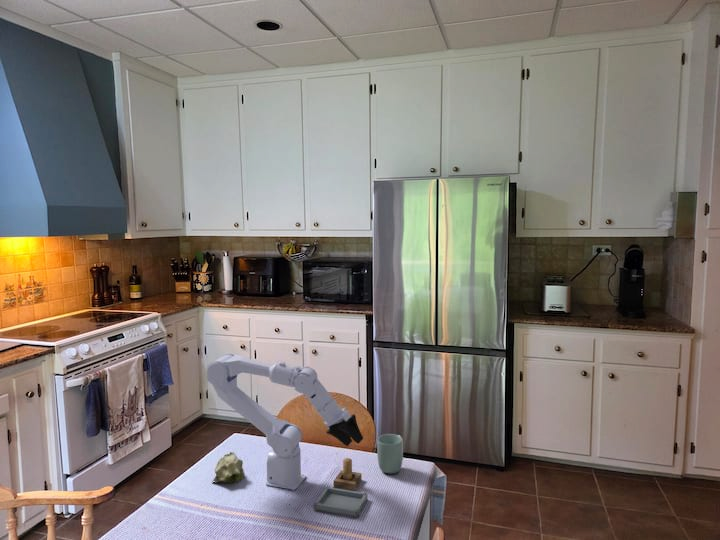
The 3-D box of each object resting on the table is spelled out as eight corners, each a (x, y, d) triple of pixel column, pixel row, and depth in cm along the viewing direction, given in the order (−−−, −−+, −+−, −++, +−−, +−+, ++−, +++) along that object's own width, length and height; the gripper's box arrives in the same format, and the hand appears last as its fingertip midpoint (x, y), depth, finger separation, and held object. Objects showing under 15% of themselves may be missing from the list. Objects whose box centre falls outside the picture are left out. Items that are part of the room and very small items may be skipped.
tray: (314, 510, 126) (313, 504, 126) (326, 492, 135) (326, 486, 135) (357, 518, 123) (357, 511, 123) (367, 499, 131) (367, 493, 131)
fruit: (221, 475, 148) (225, 448, 149) (249, 481, 146) (252, 454, 147) (205, 484, 139) (209, 456, 140) (234, 491, 137) (238, 462, 138)
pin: (342, 485, 139) (341, 461, 138) (345, 480, 142) (344, 457, 141) (350, 486, 138) (350, 463, 138) (353, 482, 141) (353, 458, 140)
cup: (401, 478, 143) (401, 445, 142) (375, 475, 144) (375, 443, 143) (404, 465, 150) (404, 434, 150) (379, 463, 152) (379, 432, 151)
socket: (333, 487, 138) (333, 480, 138) (341, 476, 144) (341, 470, 144) (354, 490, 136) (354, 484, 136) (361, 479, 142) (361, 473, 142)
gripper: (344, 391, 134) (375, 429, 133) (325, 400, 146) (353, 435, 145) (327, 407, 130) (358, 447, 129) (309, 415, 142) (337, 452, 141)
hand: (355, 442), depth 137 cm, fingers open, 7 cm apart
